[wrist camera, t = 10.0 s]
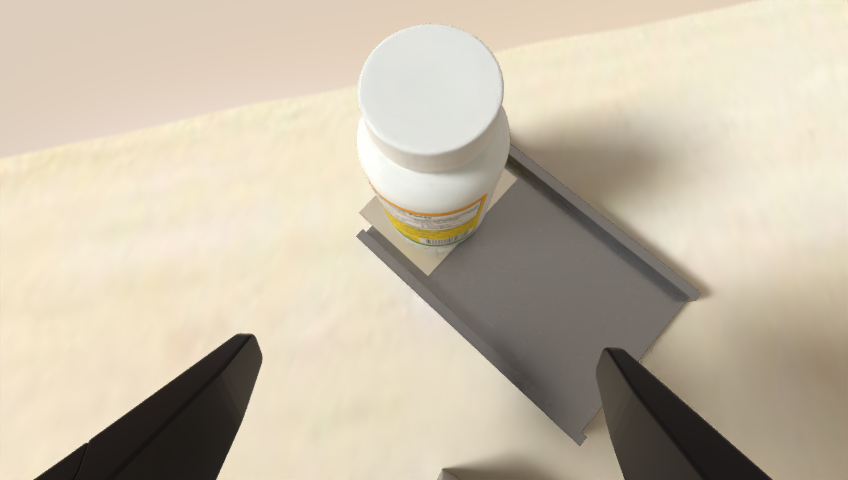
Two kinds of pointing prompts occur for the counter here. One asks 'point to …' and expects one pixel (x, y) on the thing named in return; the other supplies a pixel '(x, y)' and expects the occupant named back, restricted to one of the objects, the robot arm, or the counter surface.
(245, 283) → the counter surface
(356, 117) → the counter surface
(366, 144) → the supplement bottle
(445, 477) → the block
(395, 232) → the grey flat tray
